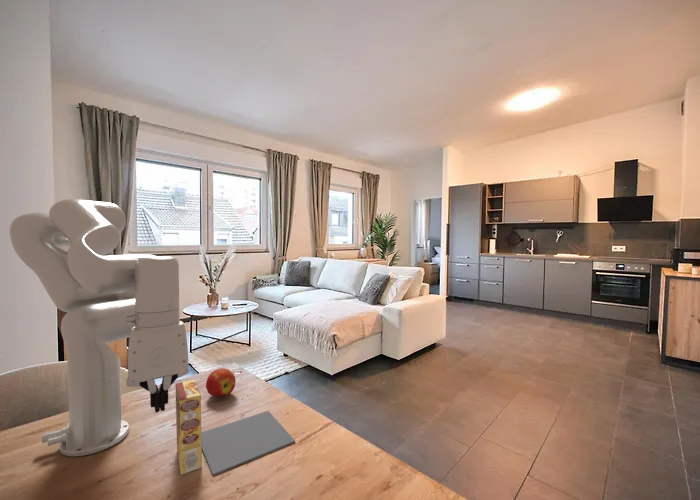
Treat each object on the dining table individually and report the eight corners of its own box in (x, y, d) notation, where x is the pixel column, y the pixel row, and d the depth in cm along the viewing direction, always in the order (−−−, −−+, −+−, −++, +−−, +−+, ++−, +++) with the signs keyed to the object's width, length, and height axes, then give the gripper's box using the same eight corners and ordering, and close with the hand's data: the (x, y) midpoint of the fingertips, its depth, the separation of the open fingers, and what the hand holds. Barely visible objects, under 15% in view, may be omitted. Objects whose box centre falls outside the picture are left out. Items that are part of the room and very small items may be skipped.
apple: (213, 405, 90) (213, 377, 90) (201, 395, 96) (201, 369, 96) (239, 395, 96) (239, 369, 96) (227, 386, 102) (226, 362, 101)
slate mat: (212, 475, 63) (212, 473, 63) (196, 435, 76) (196, 434, 76) (295, 442, 74) (295, 440, 74) (268, 412, 87) (268, 410, 87)
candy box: (202, 468, 66) (202, 394, 65) (179, 476, 63) (179, 400, 63) (196, 445, 73) (196, 378, 72) (175, 451, 71) (174, 383, 70)
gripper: (111, 328, 56) (112, 430, 57) (202, 316, 65) (203, 405, 66) (111, 319, 63) (113, 412, 63) (195, 310, 71) (196, 391, 72)
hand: (159, 408), depth 64 cm, fingers closed
